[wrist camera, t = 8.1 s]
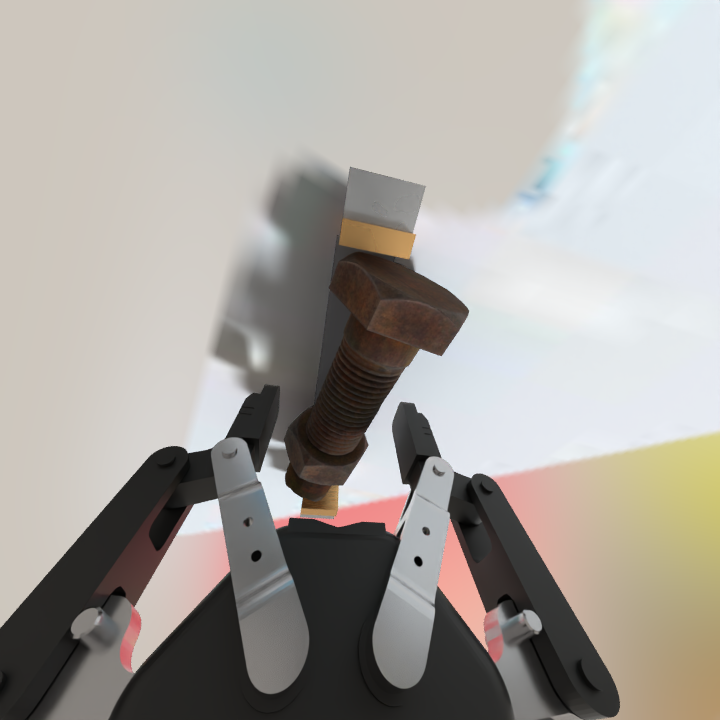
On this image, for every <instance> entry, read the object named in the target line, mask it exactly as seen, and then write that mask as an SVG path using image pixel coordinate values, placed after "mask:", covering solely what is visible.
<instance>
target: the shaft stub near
mask: <svg viewBox="0 0 720 720" xmlns="http://www.w3.org/2000/svg"><path fill="white" fill-rule="evenodd" d="M425 187H426V186H423V185H419V184H415V183H412V182H407V181H404V180H400V179H395V178H392V177H388V176H384V175H380V174H376V173H372V172H368V171H364V170H360V169H356V168H352V167H350V171H349V178H348V185H347V192H346V199H345V206H344V213H343V219H342V226H341V233H340V240H339V245H343V246H347V247H352V248H357V249H362V250H367V251H371V252H376V253H381V254H386V255H391V256H395V257H400V258H405V259H409V257H410V254H411V250H412V247H413V243H414V240H415V236H416V234H414V233H413V230H414V227H415V223H416V219H417V216H418V212H419V208H420V205H421V201H422V198H423V194H424V190H425Z"/></svg>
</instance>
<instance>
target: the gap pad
mask: <svg viewBox="0 0 720 720" xmlns="http://www.w3.org/2000/svg"><path fill="white" fill-rule="evenodd" d="M339 240H340V236H339V235H337V241H336V248H335V256H334V263H333V270H332V278H333V275H334V272H335V269H336V267H337V264H338V261H340V260H341V259H343V258H344V257H346V256H347V255H349V254H352V253H354V252H359V251H360V252H363V253H367V254H371V255H374V256H378V257H381V258H384V259H386V260H389V261H392V262H394V259H395V256H391V255H386V254H381V253H376V252H371V251H367V250H362V249H357V248H352V247H347V246H343V245H339ZM332 278H331V281H332ZM350 314H351V312H350V311H349V310H348V309H347V308H346V307H345V306H344V305H343V303H342V302H341V301H340V300H339V299H338V298H337V297H336V296H335V295H334V294H333V293H332V292H331V290H330V292H329V300H328V307H327V314H326V321H325V329H324V336H323V343H322V351H321V358H320V365H319V373H318V380H317V387H316V395H315V402H314V405H315V403H316V400H317V397H318V395H319V392H320V391H321V388H322V385H323V383H324V381H325V378H326V376H327V374H328V371H329V369H330V367H331V365H332V362H333V360H334V358H335V356H336V352H337V351H338V348H339V346H340V345H341V341H342V339H343V336H344V333H343V332H344V328H345V326H346V324H347V321H348V319H349V316H350Z"/></svg>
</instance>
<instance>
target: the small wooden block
mask: <svg viewBox="0 0 720 720" xmlns="http://www.w3.org/2000/svg"><path fill="white" fill-rule="evenodd" d="M338 486H339V485H337V486H331V488H330V489H329V491H328V493H326V495H325V497H324V498H322V499H321V500H319V501H317V502H315V501H311V500H308V499H306V498H303V501H302V508H301V515H300V517H308V518H326V519H334V516H336V515H337V511H338Z"/></svg>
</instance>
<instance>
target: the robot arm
mask: <svg viewBox="0 0 720 720" xmlns="http://www.w3.org/2000/svg"><path fill="white" fill-rule="evenodd" d="M279 396H280V386H274V385H264V388H263V390H262V392H261V394H259V393H252V394H251V395H250V396H248V397H247V398H246V399H245V401H244V403H243V405H242V408H241V409H240V411H239V413H238V415H237V417H236V419H235V420H234V422H233V424H232V426H231V428H230V430H229V432H228V434H227V436H226V438H225V439H224V440H222V441H220V442H218V443H217V444H216V445H215V446H214V447H213V448H211V449H208V450H205V451H199V452H193V453H187V451H186V450H185V449H184V448H182V447H178V446H171V447H166V448H163V449H160V450H158V451H156V452H155V453H153V454H152V455H151V456H150V457H149V458H148V459H147V460H146V461H145V462H144V463H143V465H142V466H141V467H140V468H139V469H138V470H137V472H136V473H135V474H134V475H133V476H132V477H131V478H130V480H129V481H128V482H127V483H126V484H125V485H124V486H123V488H122V489H121V490H120V491H119V492H118V493H117V494H116V496H115V497H114V498H113V499H112V500H111V501H110V503H109V504H108V505H107V506H106V507H105V508H104V510H103V511H102V512H101V513H100V514H99V515H98V516H97V518H96V519H95V520H94V521H93V522H92V523H91V524H90V526H89V527H88V528H87V529H86V530H85V531H84V533H83V534H82V535H81V536H80V537H79V538H78V539H77V541H76V542H75V543H74V544H73V545H72V546H71V547H70V549H69V550H68V551H67V552H66V554H64V556H63V557H62V558H61V559H60V560H59V562H57V564H56V565H55V566H54V567H53V568H52V569H51V571H50V572H49V573H48V574H47V575H46V576H45V577H44V579H43V580H42V581H41V582H40V583H39V584H38V586H37V587H36V588H35V589H34V590H33V591H32V593H31V594H30V595H29V596H28V597H27V598H26V599H25V600H24V602H23V603H22V604H21V605H20V606H19V608H18V609H17V610H16V611H15V612H14V613H13V614H12V615H11V617H10V618H9V619H8V620H7V621H6V622H5V624H4V625H3V626H2V627H1V628H0V720H596V719H602V718H609V717H614V716H616V715H617V713H618V712H619V708H620V701H619V695H618V691H617V688H616V686H615V683H614V681H613V679H612V677H611V675H610V673H609V671H608V670H607V668H606V666H605V665H604V663H603V661H602V660H601V658H600V656H599V654H598V653H597V651H596V649H595V648H594V646H593V644H592V643H591V641H590V639H589V638H588V636H587V634H586V632H585V631H584V629H583V627H582V626H581V624H580V622H579V621H578V619H577V617H576V616H575V614H574V612H573V611H572V609H571V607H570V606H569V604H568V602H567V601H566V599H565V597H564V596H563V594H562V592H561V590H560V589H559V587H558V585H557V584H556V582H555V580H554V579H553V577H552V575H551V573H550V572H549V570H548V568H547V567H546V565H545V563H544V562H543V560H542V558H541V557H540V555H539V553H538V552H537V550H536V548H535V547H534V545H533V543H532V541H531V540H530V538H529V536H528V535H527V533H526V531H525V530H524V528H523V526H522V525H521V523H520V521H519V519H518V518H517V516H516V515H515V513H514V511H513V509H512V508H511V506H510V505H509V503H508V501H507V499H506V498H505V496H504V494H503V492H502V491H501V489H500V487H499V486H498V485H497V483H496V482H495V481H494V480H493V479H491V478H490V477H488V476H486V475H484V474H475V475H473V476H472V478H468V477H466V476H463V475H461V474H458V473H456V472H454V471H453V469H452V467H451V466H450V464H449V463H448V462H446V461H445V460H444V459H442V458H441V455H440V453H439V450H438V447H437V444H436V442H435V439H434V436H433V433H432V431H431V429H430V425H429V423H428V420H427V419H426V418H425V417H424V415H423V414H422V413H417V410H416V407H415V404H414V403H407V402H400V404H399V406H398V409H397V412H396V414H395V417H394V420H393V424H392V432H393V437H394V442H395V447H396V453H397V458H398V463H399V468H400V473H401V478H402V483H403V484H409V485H410V488H411V491H410V493H409V495H408V498H407V500H406V503H405V506H404V509H403V512H402V514H401V517H400V520H399V523H398V525H397V528H396V530H395V532H394V534H391V533H389V532H387V531H386V529H385V523H375V522H360V523H355V524H351V525H347V526H344V527H335V526H332V525H329V524H326V523H323V522H321V521H318V520H315V519H302V518H290V519H289V524H288V526H284V527H281V528H278V529H275V526H274V522H273V519H272V516H271V513H270V509H269V506H268V503H267V500H266V496H265V493H264V490H263V487H262V484H261V482H259V481H258V479H257V476H256V472H260V470H261V467H262V464H263V460H264V457H265V454H266V451H267V448H268V445H269V442H270V439H271V436H272V433H273V429H274V426H275V423H276V420H277V417H278V412H279ZM217 498H218V500H219V506H220V512H221V518H222V524H223V530H224V535H225V542H226V548H227V553H228V559H229V565H230V572H229V573H228V574H227V575H226V576H225V577H224V578H223V579H222V580H221V581H220V582H219V584H217V585H216V587H215V588H214V589H213V590H212V591H211V592H210V593H209V594H208V595H207V596H206V597H205V598H204V599H203V600H202V601H201V602H200V603H199V605H198V606H197V607H196V608H195V609H194V610H193V611H192V612H191V613H190V614H189V615H188V616H187V617H186V618H185V619H184V620H183V621H182V623H181V624H180V625H179V626H178V627H177V628H176V629H175V630H174V631H173V632H172V633H171V634H170V635H169V636H168V637H167V638H166V639H165V641H163V642H162V644H161V645H160V646H159V647H158V648H157V649H156V650H155V651H154V652H153V653H152V654H151V655H150V656H149V657H148V658H147V659H146V661H145V662H144V663H143V664H142V665H141V666H140V668H139V669H138V670H137V671H136V673H133V671H132V667H131V657H132V652H133V649H134V646H135V643H136V641H137V639H138V636H139V633H140V630H141V617H140V615H139V613H138V612H137V610H136V609H135V608H134V607H135V605H136V603H137V601H138V600H139V598H140V596H141V594H142V593H143V591H144V589H145V588H146V586H147V584H148V582H149V581H150V579H151V577H152V575H153V574H154V572H155V570H156V569H157V567H158V565H159V564H160V562H161V560H162V558H163V557H164V555H165V553H166V551H167V550H168V548H169V546H170V544H171V543H172V541H173V539H174V538H175V536H176V534H177V533H178V531H179V529H180V527H181V526H182V524H183V522H184V520H185V519H186V517H187V515H188V514H189V512H190V510H191V508H192V507H193V505H194V504H197V503H201V502H205V501H209V500H213V499H217ZM449 519H451V522H452V524H453V527H454V529H455V532H456V535H457V537H458V540H459V542H460V545H461V548H462V550H463V553H464V555H465V558H466V560H467V563H468V566H469V568H470V571H471V574H472V576H473V579H474V581H475V584H476V587H477V589H478V592H479V594H480V597H481V600H482V602H483V605H484V607H485V610H486V613H487V614H486V616H485V619H484V631H485V641H486V644H487V646H488V652H487V651H486V649H485V648H484V647H483V645H482V644H481V643H480V641H479V640H478V639H477V638H476V636H475V635H474V634H473V632H472V631H471V630H470V628H469V627H468V626H467V624H466V623H465V622H464V620H463V619H462V618H461V616H460V615H459V614H458V612H457V611H456V610H455V608H454V607H453V606H452V604H451V603H450V602H449V600H448V599H447V598H446V596H445V595H444V594H443V592H442V591H441V590H440V589H439V587H438V586H437V584H438V579H439V573H440V568H441V562H442V557H443V552H444V546H445V540H446V536H447V530H448V524H449Z"/></svg>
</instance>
